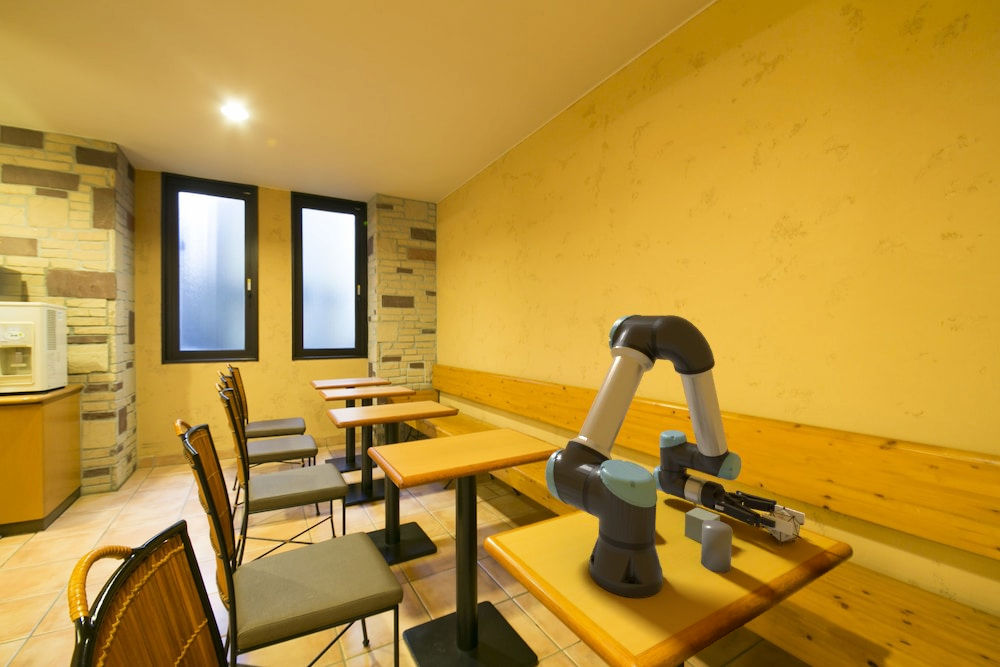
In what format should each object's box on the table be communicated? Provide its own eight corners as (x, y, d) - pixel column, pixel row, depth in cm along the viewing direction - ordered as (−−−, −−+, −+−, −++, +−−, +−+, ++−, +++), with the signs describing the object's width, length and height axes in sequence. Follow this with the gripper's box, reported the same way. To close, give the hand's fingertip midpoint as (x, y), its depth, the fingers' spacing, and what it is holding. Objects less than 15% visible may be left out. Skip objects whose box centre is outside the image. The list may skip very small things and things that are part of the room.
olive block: (684, 536, 109) (685, 513, 109) (696, 529, 112) (696, 507, 112) (708, 546, 104) (708, 522, 104) (719, 538, 108) (720, 515, 108)
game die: (790, 558, 106) (817, 539, 100) (756, 543, 107) (781, 523, 101) (783, 527, 113) (808, 507, 107) (751, 513, 114) (774, 493, 108)
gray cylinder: (695, 563, 96) (697, 524, 96) (708, 555, 100) (710, 517, 100) (723, 576, 92) (724, 535, 91) (735, 566, 95) (736, 527, 95)
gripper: (721, 497, 128) (811, 527, 110) (686, 515, 115) (781, 553, 97) (722, 472, 128) (813, 498, 110) (687, 488, 115) (783, 520, 97)
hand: (798, 524), depth 104 cm, fingers closed on game die, 8 cm apart
